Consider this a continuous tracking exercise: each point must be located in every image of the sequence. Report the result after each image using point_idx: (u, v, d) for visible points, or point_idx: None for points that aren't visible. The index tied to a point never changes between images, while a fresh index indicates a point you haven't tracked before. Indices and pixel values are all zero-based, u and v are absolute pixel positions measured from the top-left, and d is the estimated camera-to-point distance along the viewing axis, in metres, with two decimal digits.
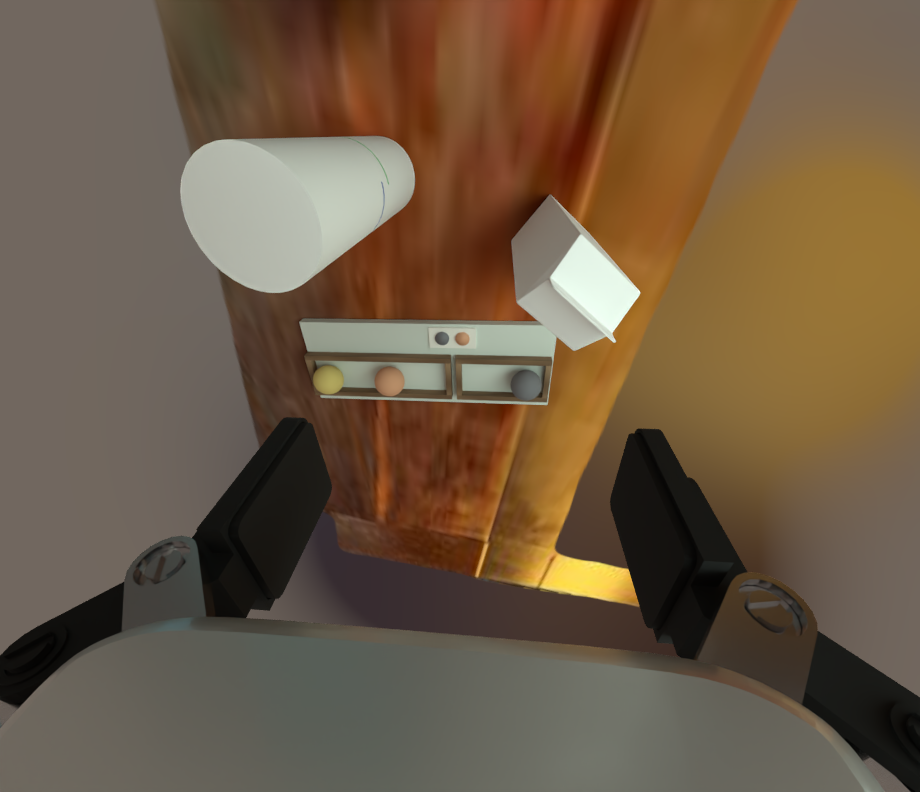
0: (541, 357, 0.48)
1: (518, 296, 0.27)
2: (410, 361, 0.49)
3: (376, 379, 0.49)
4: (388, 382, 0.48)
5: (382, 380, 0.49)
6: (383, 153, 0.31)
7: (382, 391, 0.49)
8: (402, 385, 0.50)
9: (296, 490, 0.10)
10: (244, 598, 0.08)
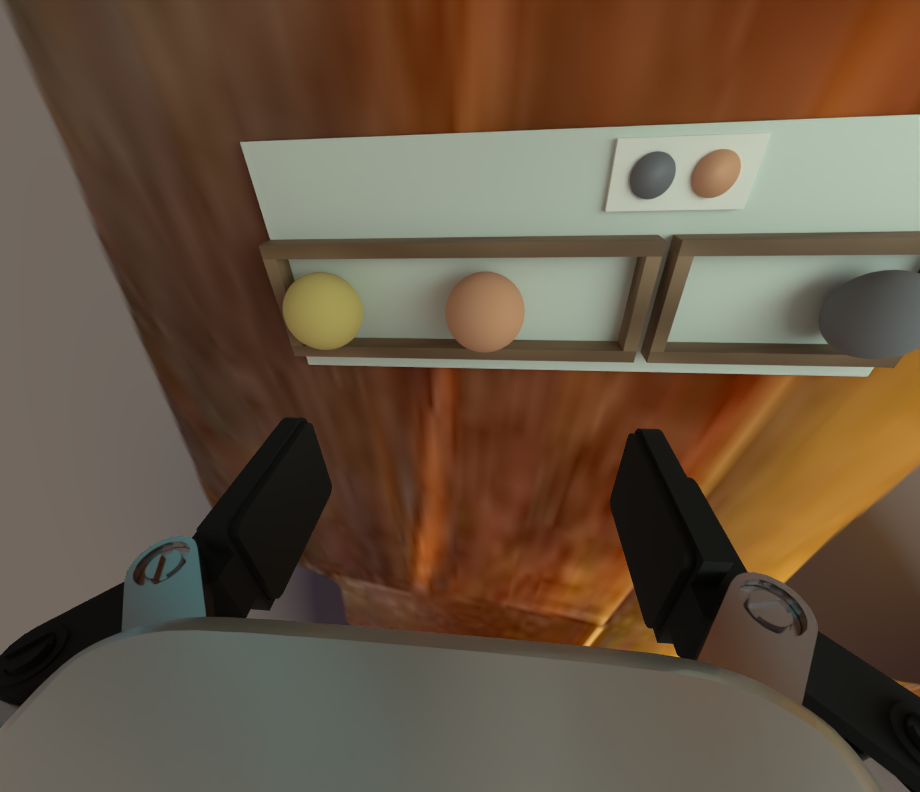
0: None
1: None
2: (547, 253, 0.18)
3: (454, 301, 0.18)
4: (492, 307, 0.17)
5: (473, 304, 0.17)
6: None
7: (471, 336, 0.18)
8: (522, 321, 0.18)
9: (296, 490, 0.10)
10: (244, 598, 0.08)
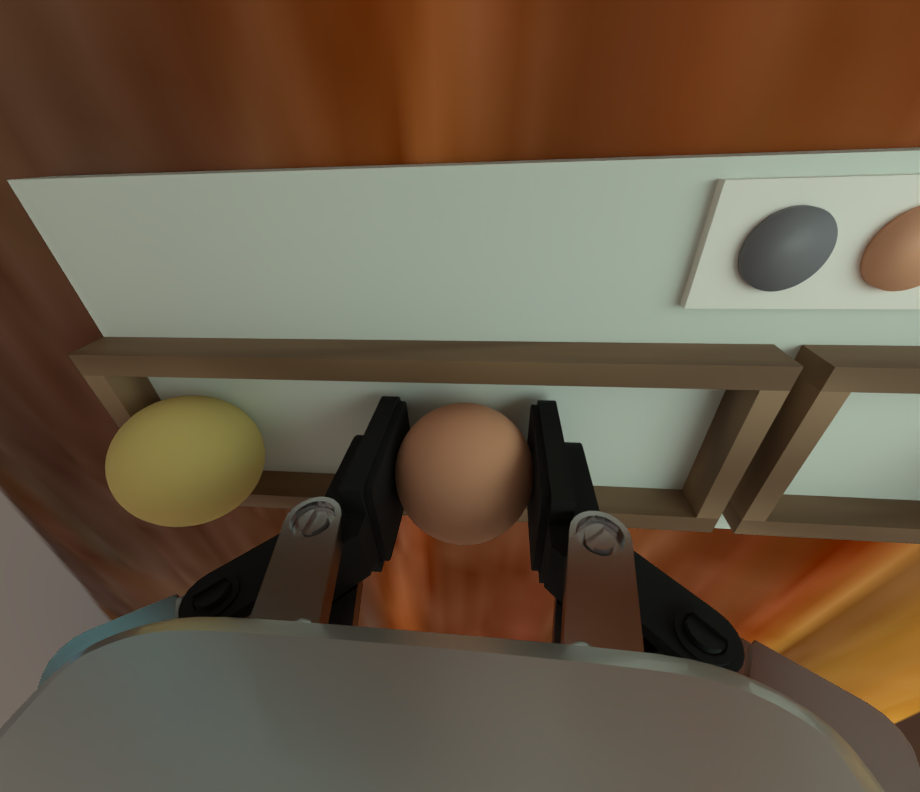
0: None
1: None
2: (576, 379, 0.10)
3: (406, 470, 0.10)
4: (475, 493, 0.09)
5: (439, 486, 0.09)
6: None
7: (437, 533, 0.10)
8: (530, 495, 0.10)
9: None
10: (370, 556, 0.09)
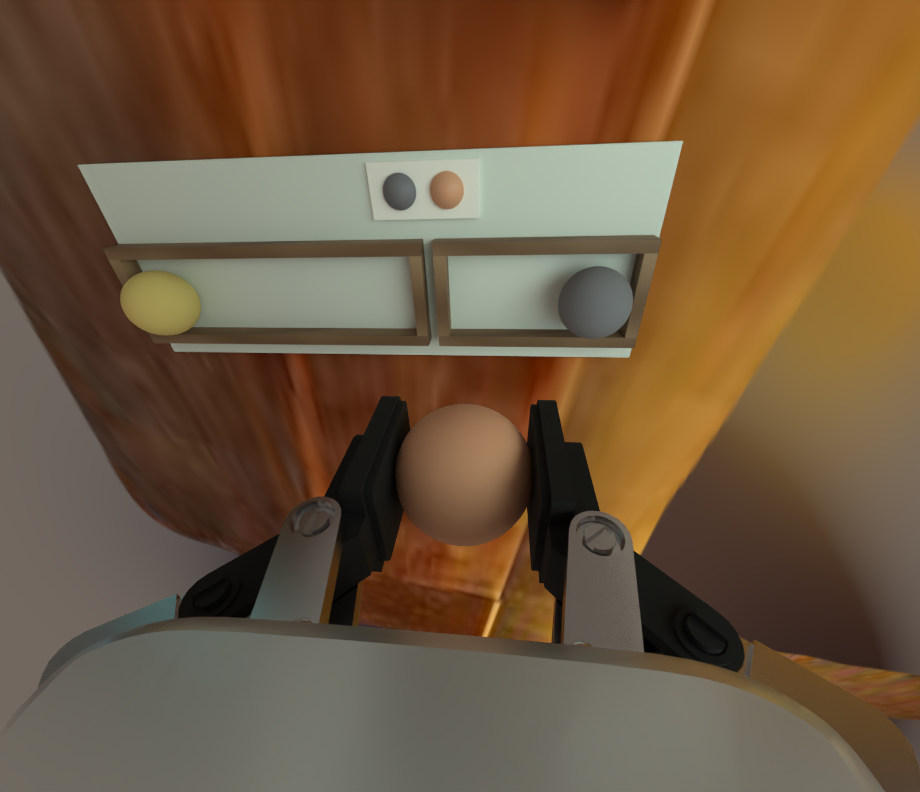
0: (631, 236, 0.21)
1: None
2: (331, 254, 0.22)
3: (406, 471, 0.10)
4: (475, 494, 0.09)
5: (439, 487, 0.09)
6: None
7: (437, 534, 0.10)
8: (530, 496, 0.10)
9: None
10: (370, 556, 0.09)
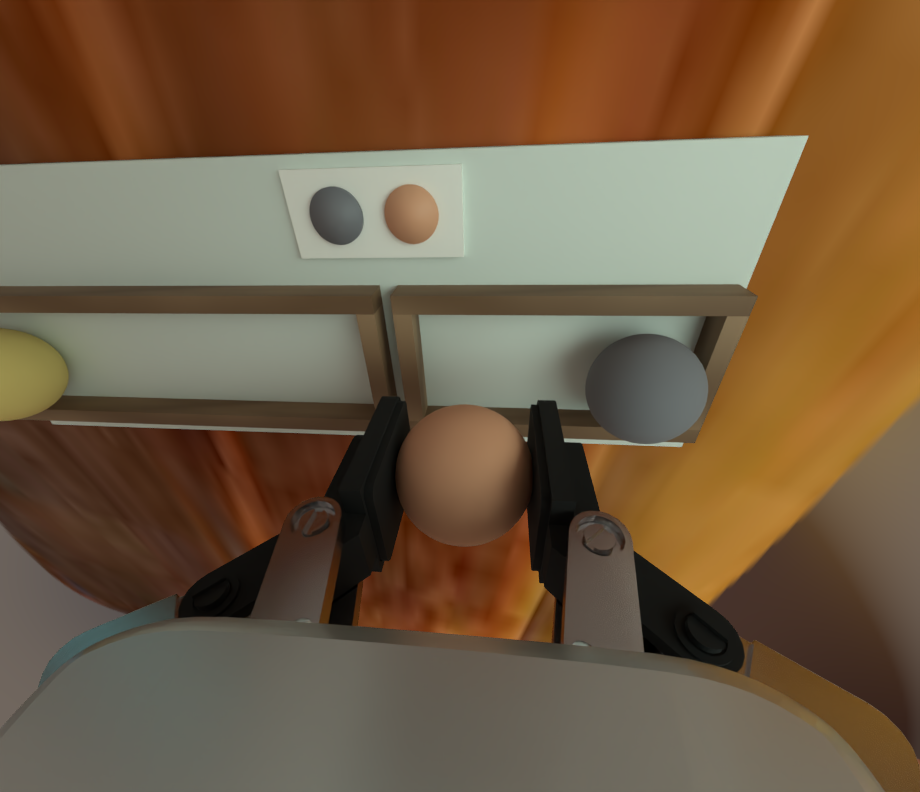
0: (704, 286, 0.13)
1: None
2: (239, 309, 0.14)
3: (406, 472, 0.10)
4: (475, 495, 0.09)
5: (439, 488, 0.09)
6: None
7: (437, 535, 0.10)
8: (530, 496, 0.10)
9: None
10: (370, 556, 0.09)
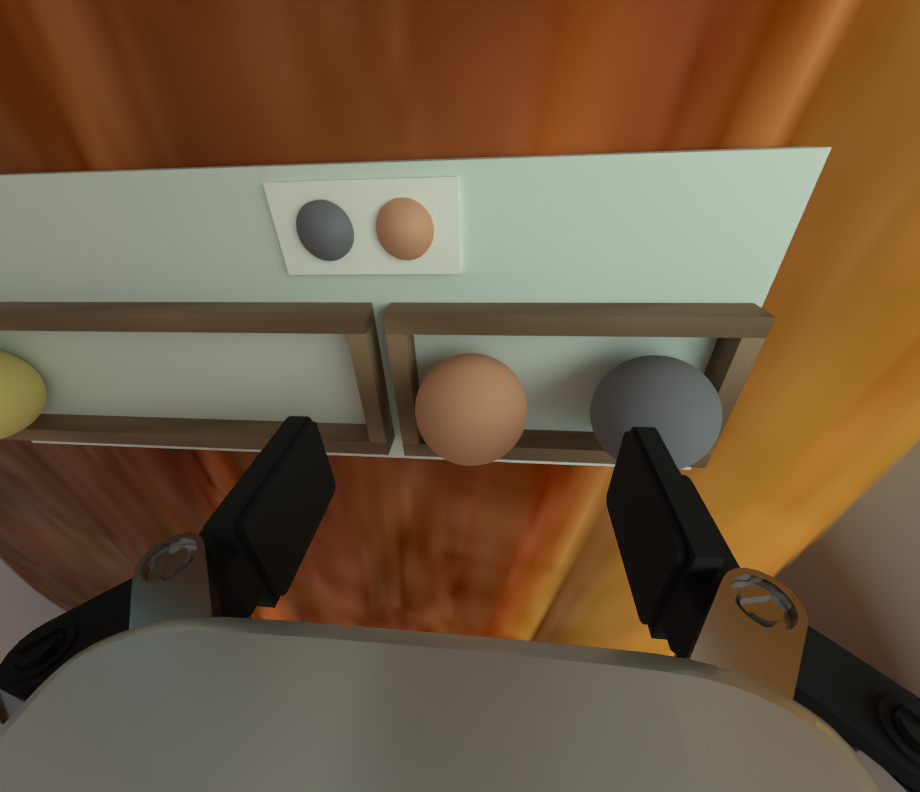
0: (717, 305, 0.12)
1: None
2: (222, 327, 0.13)
3: (425, 402, 0.12)
4: (480, 416, 0.12)
5: (452, 411, 0.12)
6: None
7: (450, 452, 0.12)
8: (524, 425, 0.13)
9: (301, 488, 0.10)
10: (250, 595, 0.08)
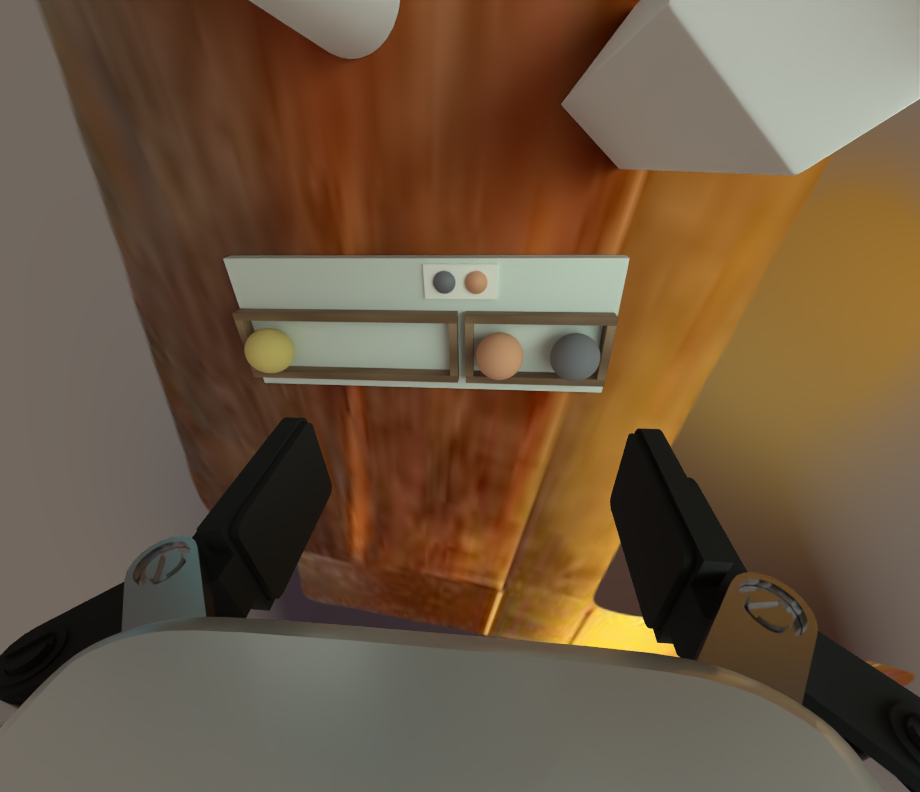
0: (599, 313, 0.31)
1: None
2: (394, 320, 0.32)
3: (482, 350, 0.31)
4: (504, 354, 0.30)
5: (493, 352, 0.30)
6: None
7: (492, 370, 0.31)
8: (521, 362, 0.31)
9: (296, 490, 0.10)
10: (244, 598, 0.08)
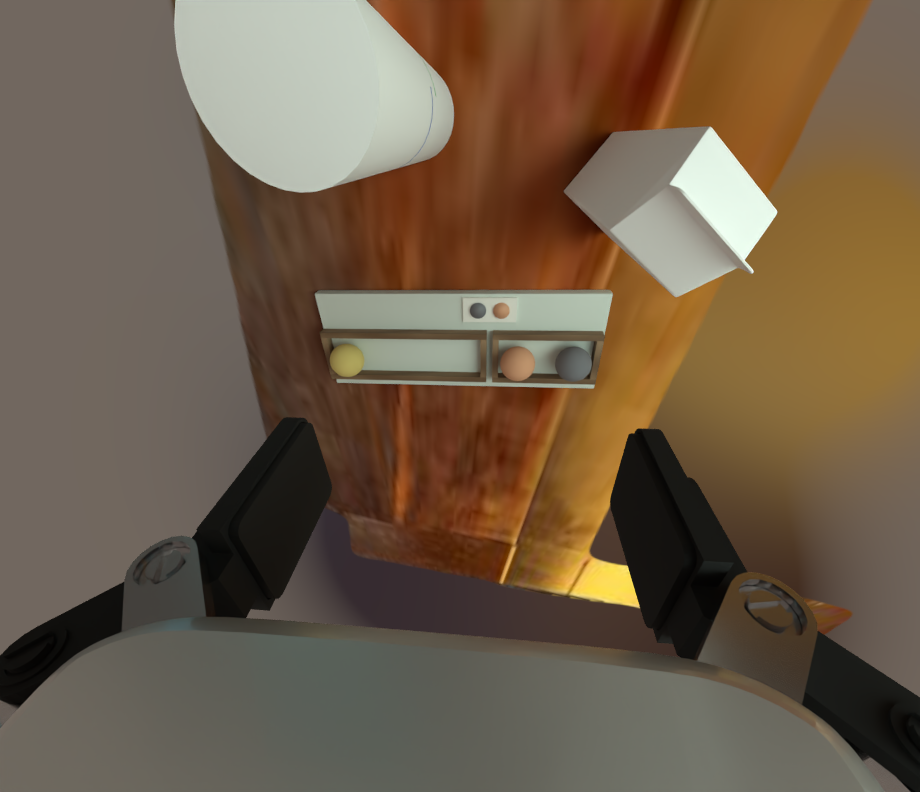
0: (591, 331, 0.42)
1: (610, 223, 0.21)
2: (440, 338, 0.43)
3: (505, 360, 0.42)
4: (522, 364, 0.41)
5: (514, 362, 0.42)
6: (427, 63, 0.26)
7: (512, 375, 0.42)
8: None
9: (296, 490, 0.10)
10: (244, 598, 0.08)
